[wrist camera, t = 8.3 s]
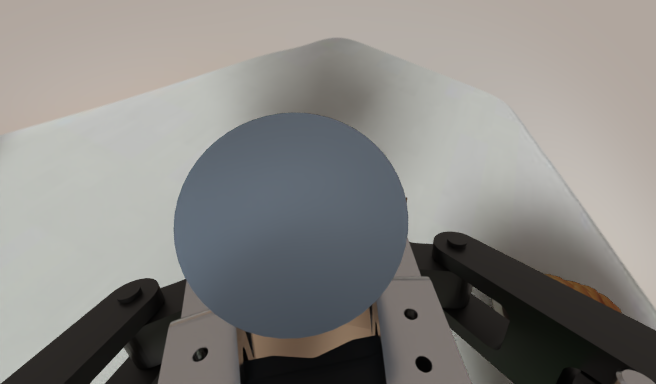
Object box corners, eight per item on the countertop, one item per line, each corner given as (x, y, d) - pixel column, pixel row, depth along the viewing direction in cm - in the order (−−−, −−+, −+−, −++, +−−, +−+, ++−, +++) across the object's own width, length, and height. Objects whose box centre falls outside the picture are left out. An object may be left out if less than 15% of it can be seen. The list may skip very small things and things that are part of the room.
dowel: (274, 292, 16) (130, 308, 3) (288, 237, 18) (220, 95, 5) (329, 303, 16) (396, 364, 3) (339, 248, 18) (415, 133, 5)
